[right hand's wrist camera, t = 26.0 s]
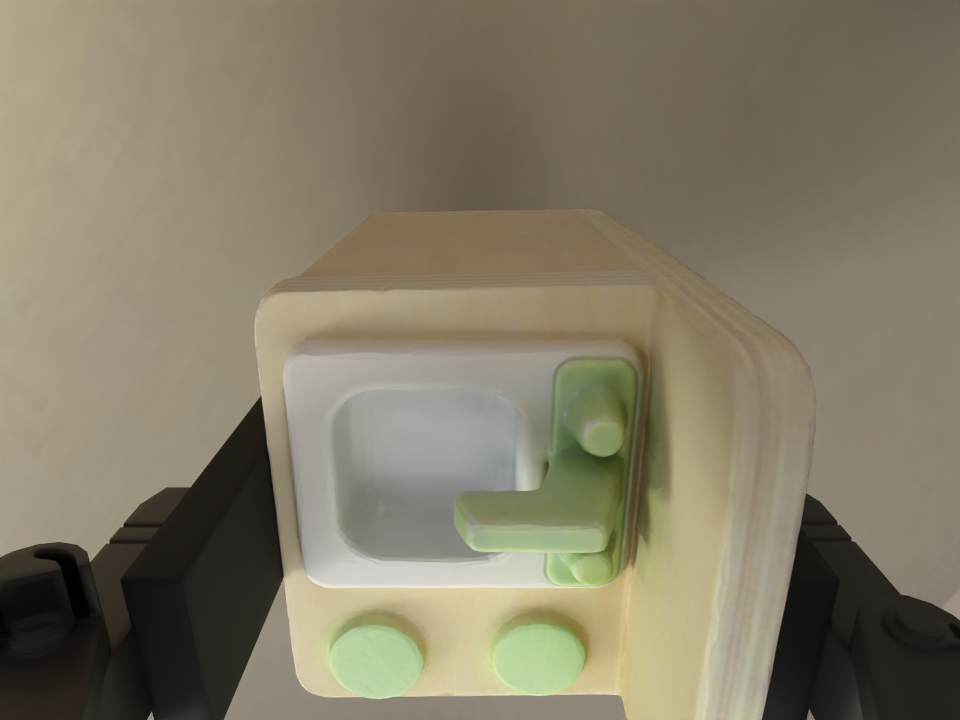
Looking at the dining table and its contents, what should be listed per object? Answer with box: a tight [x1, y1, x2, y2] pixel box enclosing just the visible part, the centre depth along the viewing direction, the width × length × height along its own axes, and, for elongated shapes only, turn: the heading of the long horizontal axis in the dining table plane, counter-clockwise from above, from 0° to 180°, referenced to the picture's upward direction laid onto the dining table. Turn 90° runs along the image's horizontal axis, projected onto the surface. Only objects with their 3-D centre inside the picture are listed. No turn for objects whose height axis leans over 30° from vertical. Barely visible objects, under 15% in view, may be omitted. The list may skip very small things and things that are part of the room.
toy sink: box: [255, 209, 816, 720], centre depth 14 cm, size 8×7×13 cm
